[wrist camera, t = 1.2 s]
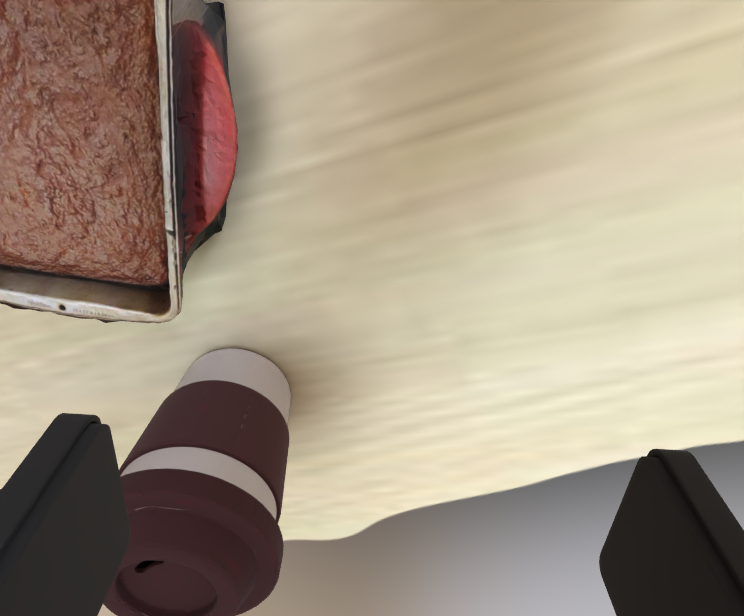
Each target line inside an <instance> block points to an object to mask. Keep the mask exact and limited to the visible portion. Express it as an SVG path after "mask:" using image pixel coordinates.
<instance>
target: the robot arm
mask: <svg viewBox="0 0 744 616" xmlns="http://www.w3.org/2000/svg"><path fill="white" fill-rule="evenodd" d="M130 535H131V528H130V522H129V517H128V513H127V508H126V503H125V498H124V493H123V488H122V484H121V479H120V474H119V469H118V464H117V459H116V455H115V450H114V445H113V440H112V435H111V430H110V427H109V426H108V425H107V424H101V421H100V419H99V417H98V416H96V415H84V414H68V413H62V414H60V415H58V416H57V417H56V418H55V419H54V420H53V422H52V423H51V424H50V426H49V427H48V428H47V430H46V431H45V432H44V434H43V435H42V436H41V438H40V439H39V440H38V442H37V443H36V444H35V446H34V447H33V448H32V450H31V451H30V452H29V454H28V455H27V456H26V458H25V459H24V460H23V462H22V463H21V464H20V466H19V467H18V468H17V470H16V471H15V472H14V474H13V475H12V476H11V478H10V479H9V480H8V482H7V483H6V484H5V486H4V487H3V488H2V489H0V616H97V615H98V613H99V611H100V609H101V606H102V604H103V602H104V600H105V598H106V595H107V593H108V591H109V589H110V586H111V584H112V582H113V580H114V577H115V575H116V573H117V571H118V569H119V566H120V564H121V562H122V560H123V557H124V555H125V553H126V551H127V548H128V545H129V541H130ZM599 564H600V571H601V575H602V578H603V581H604V583H605V586H606V589H607V591H608V594H609V597H610V599H611V602H612V605H613V607H614V610H615V612H616V615H617V616H744V530H743V529H742V527H741V526H740V524H739V523H738V521H737V520H736V518H735V517H734V515H733V514H732V512H731V511H730V510H729V508H728V506H727V505H726V503H725V502H724V501H723V499H722V498H721V496H720V495H719V493H718V492H717V490H716V489H715V487H714V486H713V484H712V483H711V481H710V480H709V478H708V477H707V475H706V474H705V473H704V471H703V469H702V468H701V466H700V465H699V464H698V462H697V460H696V459H695V457H694V456H693V455H692V454H691V453H689V452H688V451H681V450H665V449H652V450H651V451H650V452H649V453H648V455H647V457H641V458H640V459H639V461H638V462H637V465H636V467H635V470H634V472H633V475H632V477H631V480H630V482H629V485H628V487H627V490H626V492H625V494H624V497H623V499H622V502H621V504H620V507H619V509H618V512H617V514H616V516H615V519H614V521H613V524H612V527H611V529H610V531H609V534H608V536H607V539H606V541H605V544H604V546H603V548H602V551H601V554H600V560H599Z"/></svg>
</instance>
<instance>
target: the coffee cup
mask: <svg viewBox="0 0 744 616" xmlns="http://www.w3.org/2000/svg"><path fill="white" fill-rule="evenodd" d="M290 402H291V393H290V388H289V384H288V382H287V380H286V378H285V376H284V375H283V373H282V372H281V370H280V369H279V368H278V367H277V366H276V365H275V364H273V363H272V362H271V361H269V360H268V359H266V358H265V357H263V356H261V355H259V354H257V353H254V352H251V351H248V350H243V349H233V348H228V349H219V350H215V351H212V352H209V353H207V354H205V355H203V356H201V357H200V358H198V359H197V360H196V361H195V362H194V363H193V364H192V365H191V366H190V367H189V369H188V370H187V372H186V373H185V375H184V377H183V378H182V380H181V381H180V383H179V384H178V386H177V388H176V389H175V391H174V392H173V393H171V394H170V395H169V396H168V397H167V398H166V399H165V400H164V402H163V403H162V404H161V406H160V407H159V409H158V411H157V412H156V414H155V415H154V417H153V418H152V420H151V421H150V423H149V424H148V426H147V428H146V429H145V431H144V432H143V434H142V435H141V437H140V438H139V440H138V441H137V443H136V445H135V446H134V448H133V449H132V451H131V452H130V454H129V455H128V457H127V458H126V460H125V461H124V463H123V465H122V466H121V468H120V470H119V474H120V479H121V484H122V488H123V493H124V498H125V503H126V508H127V513H128V517H129V522H130V528H131V535H130V541H129V545H128V548H127V551H126V553H125V555H124V557H123V560H122V562H121V564H120V566H119V569H118V571H117V573H116V575H115V577H114V580H113V582H112V584H111V586H110V589H109V591H108V593H107V595H106V598H105V600H104V602H103V604H104V605H105V606H106V607H107V608H108V609H109V610H110V611H111V612H113V613H114V614H116V615H118V616H236V615H239V614H241V613H244V612H246V611H248V610H250V609H252V608H254V607H256V606H257V605H259V604H260V603H261V602H262V601H263V600H265V599H266V598H267V597H268V596H269V595H270V593H271V592H272V591H273V589H274V587H275V585H276V583H277V580H278V578H279V572H280V568H281V562H282V556H283V538H282V534H281V531H280V528H279V526H278V521H279V518H280V514H281V507H282V499H283V490H284V481H285V473H286V464H287V456H288V447H289V431H288V427H287V426H288V418H289V410H290Z"/></svg>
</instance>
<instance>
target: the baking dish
mask: <svg viewBox="0 0 744 616" xmlns="http://www.w3.org/2000/svg"><path fill="white" fill-rule="evenodd" d="M237 151H238V145H237V124H236V118H235V112H234V106H233V100H232V93H231V87H230V81H229V75H228V57H227V38H226V20H225V11H224V4H222V3H220V2H214V3H208V4H206V3H205V2H204V1H203V0H0V303H1V304H5V305H8V306H10V307H12V308H16V309H31V310H37V311H50V312H53V313H56V314H59V315H65V316H71V317H76V318H85V319H97V320H100V321H102V322H105V323H108V322H116V321H131V322H144V323H152V322H155V323H161V322H167V321H170V320H172V319H173V318H175V317H176V316H177V315H178V314H179V313H180V311H181V305H182V296H183V290H182V279H183V273H184V270H185V267H186V264H187V262H188V260H189V259H190V257H191V256H192V254H193V253H194V251H195V250H196V249H197V248H199V247H200V246H201V245H202V244H203V243H204V242H205V241H207V240H208V239H209V238H210V237H211V236H212V235H213V234H215V233H217V232H220V231H221V230H222V227H223V224H224V220H225V217H226V201H227V198H228V195H229V192H230V188H231V185H232V181H233V178H234V173H235V166H236V158H237Z"/></svg>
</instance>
